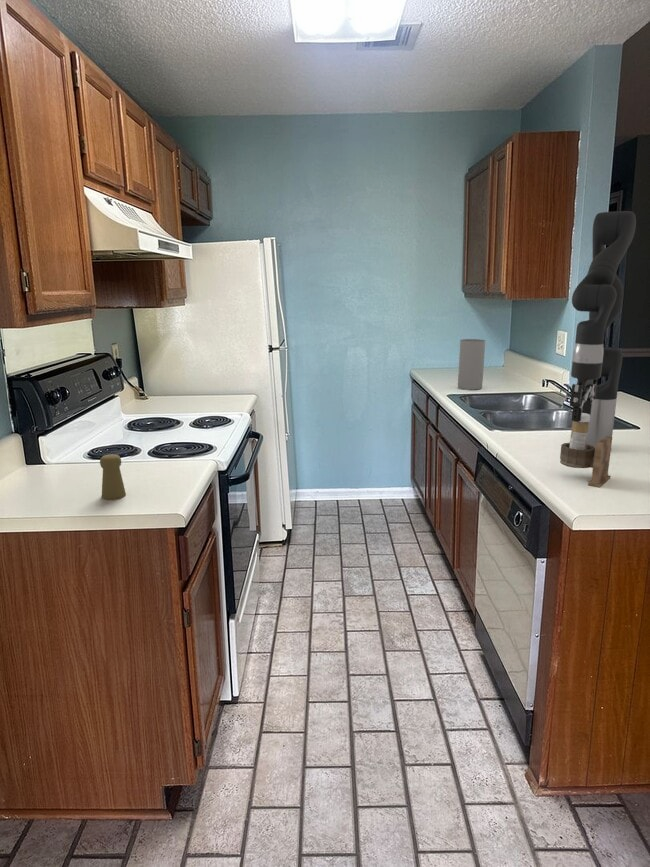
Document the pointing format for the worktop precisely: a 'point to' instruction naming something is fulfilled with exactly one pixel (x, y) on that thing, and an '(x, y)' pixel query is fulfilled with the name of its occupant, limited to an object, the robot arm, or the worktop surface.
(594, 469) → the bracket
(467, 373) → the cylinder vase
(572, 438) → the sprinkles bottle
